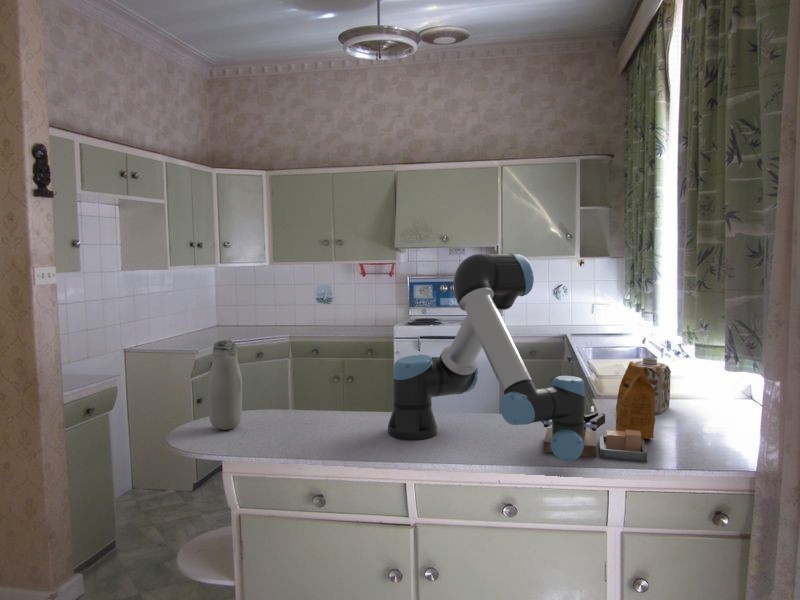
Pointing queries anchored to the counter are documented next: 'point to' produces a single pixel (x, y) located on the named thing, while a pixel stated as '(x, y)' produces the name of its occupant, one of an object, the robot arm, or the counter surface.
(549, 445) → the board
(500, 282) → the robot arm
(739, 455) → the counter surface
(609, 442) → the salmon pink block
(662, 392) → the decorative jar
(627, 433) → the salmon orange block
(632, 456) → the tray
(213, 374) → the glass bottle
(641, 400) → the coffee package
